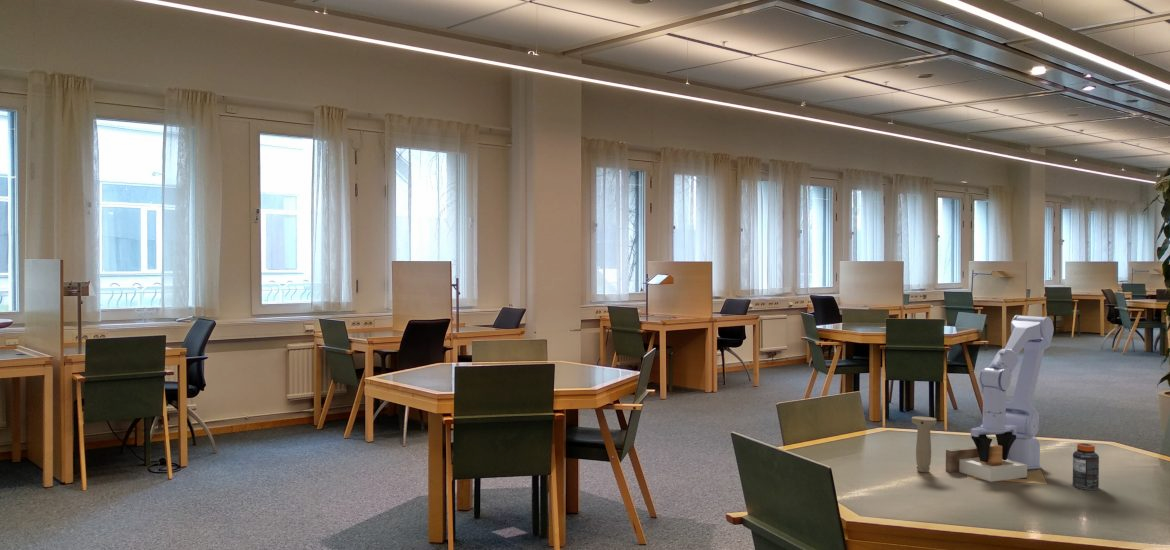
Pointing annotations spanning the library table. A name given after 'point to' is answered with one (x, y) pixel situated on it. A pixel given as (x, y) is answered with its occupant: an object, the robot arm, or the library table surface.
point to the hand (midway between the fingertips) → (993, 460)
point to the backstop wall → (959, 457)
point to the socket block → (993, 469)
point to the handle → (923, 442)
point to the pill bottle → (1085, 467)
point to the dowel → (994, 455)
